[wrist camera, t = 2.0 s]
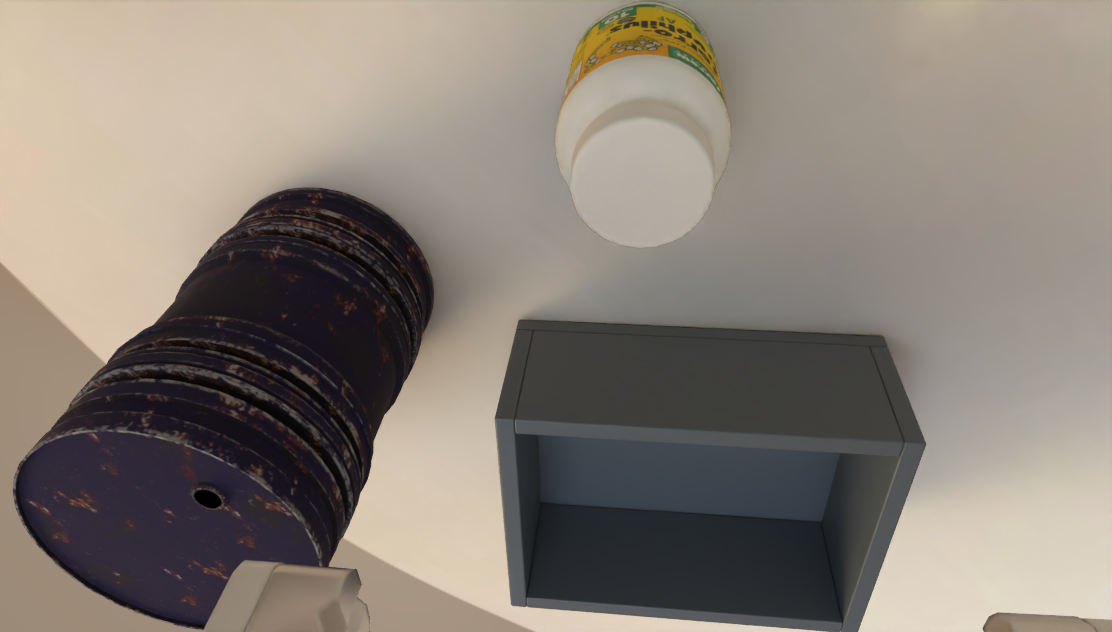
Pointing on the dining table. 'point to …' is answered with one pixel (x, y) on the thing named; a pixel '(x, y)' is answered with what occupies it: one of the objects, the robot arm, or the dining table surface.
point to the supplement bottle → (643, 125)
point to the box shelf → (702, 472)
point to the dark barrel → (235, 411)
